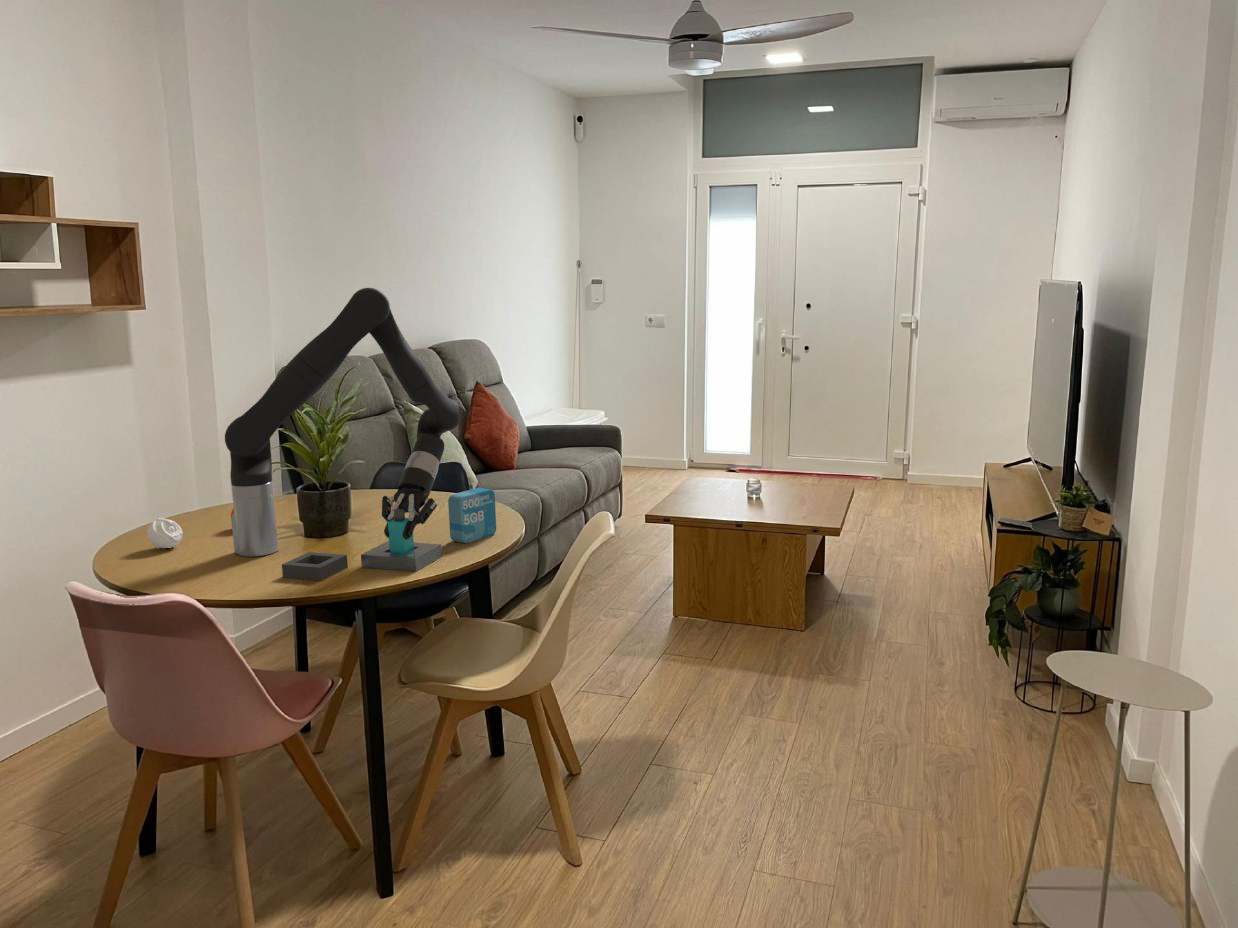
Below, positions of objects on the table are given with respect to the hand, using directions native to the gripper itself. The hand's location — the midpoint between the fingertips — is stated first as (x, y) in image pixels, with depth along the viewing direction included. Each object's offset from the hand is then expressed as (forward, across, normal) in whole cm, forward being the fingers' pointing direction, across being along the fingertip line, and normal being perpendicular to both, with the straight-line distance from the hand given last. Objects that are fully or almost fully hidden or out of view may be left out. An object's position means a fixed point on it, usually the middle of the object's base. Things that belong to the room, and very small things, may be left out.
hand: (396, 536), depth 214 cm
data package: (-13, +7, +22) cm, 27 cm away
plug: (+2, 0, +4) cm, 4 cm away
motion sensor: (+6, -64, +3) cm, 64 cm away
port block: (+3, 0, +6) cm, 7 cm away
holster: (+12, -15, -3) cm, 19 cm away
